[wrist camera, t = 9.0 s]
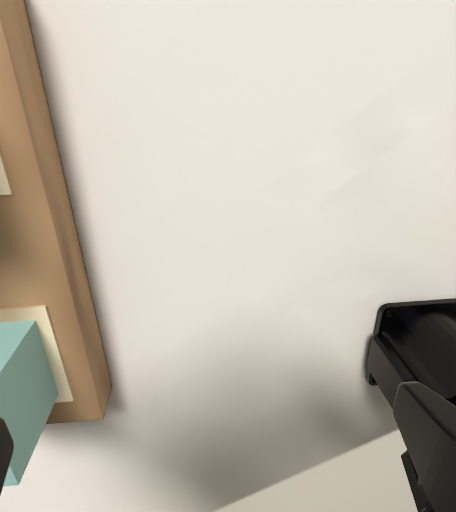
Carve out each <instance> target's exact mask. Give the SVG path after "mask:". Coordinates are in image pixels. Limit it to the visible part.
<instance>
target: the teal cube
mask: <svg viewBox="0 0 456 512" xmlns="http://www.w3.org/2000/svg"><path fill="white" fill-rule="evenodd" d="M58 394H59V393H58V390H57V387H56V384H55V381H54V377H53V374H52V371H51V368H50V365H49V362H48V358H47V355H46V352H45V349H44V346H43V343H42V339H41V336H40V333H39V330H38V327H37V324H36V320H29V321H14V322H0V417H1V418H3V419H4V420H5V422H6V425H7V427H8V429H9V432H10V434H11V436H12V438H13V441H14V451H13V455H12V458H11V462H10V465H9V468H8V471H7V475H6V478H5V481H4V485H3V486H13V485H19V483H20V481H21V478H22V476H23V474H24V471H25V469H26V467H27V465H28V462H29V460H30V458H31V455H32V453H33V451H34V449H35V446H36V444H37V442H38V439H39V437H40V435H41V433H42V430H43V428H44V426H45V424H46V421H47V419H48V417H49V414H50V412H51V410H52V408H53V405H54V403H55V401H56V398H57V396H58Z"/></svg>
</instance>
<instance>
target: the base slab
mask: <svg viewBox="0 0 456 512" xmlns="http://www.w3.org/2000/svg"><path fill="white" fill-rule="evenodd" d="M29 320H36V324H37V327H38V330H39V333H40V336H41V339H42V343H43V346H44V349H45V352H46V355H47V358H48V362H49V365H50V368H51V371H52V374H53V377H54V381H55V384H56V387H57V390H58V393H59V394H58V396H57V398H56V401H55V403H54V405H53V408H52V410H51V412H50V414H49V417H48V419H47V421H46V424H52V423H63V422H75V421H86V420H98V419H103V418H104V414H105V410H106V407H107V403H108V399H109V396H110V392H111V388H112V385H111V380H110V376H109V372H108V367H107V363H106V358H105V354H104V350H103V345H102V341H101V336H100V332H99V328H98V323H97V319H96V314H95V310H94V306H93V301H92V297H91V293H90V288H89V284H88V279H87V275H86V271H85V266H84V262H83V257H82V253H81V249H80V244H79V240H78V236H77V231H76V227H75V222H74V218H73V214H72V209H71V205H70V200H69V196H68V192H67V187H66V183H65V178H64V174H63V170H62V165H61V161H60V157H59V152H58V148H57V143H56V139H55V135H54V130H53V126H52V121H51V117H50V113H49V108H48V104H47V99H46V95H45V91H44V86H43V82H42V78H41V73H40V69H39V64H38V60H37V56H36V51H35V47H34V42H33V38H32V34H31V29H30V25H29V20H28V16H27V12H26V7H25V3H24V0H0V322H14V321H29Z"/></svg>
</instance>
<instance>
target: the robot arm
mask: <svg viewBox="0 0 456 512" xmlns="http://www.w3.org/2000/svg"><path fill="white" fill-rule="evenodd" d="M389 310H390V312H388V311H389ZM386 312H388V313H386ZM366 379H367V381H368V382H369V384H370V385H378V386H379V387H380V389H381V391H382V392H383V394H384V396H385V397H386V399H387V401H388V402H389V404H390V405H391V407H392V409H393V414H394V417H395V420H396V422H397V425H398V427H399V430H400V432H401V435H402V437H403V440H404V442H405V445H406V447H407V451H406V452H404V453H403V454H402V455H401V458H402V461H403V465H404V468H405V471H406V474H407V478H408V481H409V484H410V487H411V491H412V493H413V497H414V500H415V503H416V507H417V510H418V512H456V299H442V300H428V301H414V302H399V303H387V304H384V305H382V306H381V307H380V309H379V313H378V318H377V323H376V328H375V333H374V335H373V337H372V340H371V345H370V350H369V355H368V361H367V374H366ZM13 451H14V441H13V438H12V436H11V434H10V432H9V429H8V427H7V425H6V422H5V420H4V419H3V418H1V417H0V495H1V491H2V488H3V485H4V481H5V478H6V475H7V471H8V468H9V465H10V462H11V458H12V455H13Z"/></svg>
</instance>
